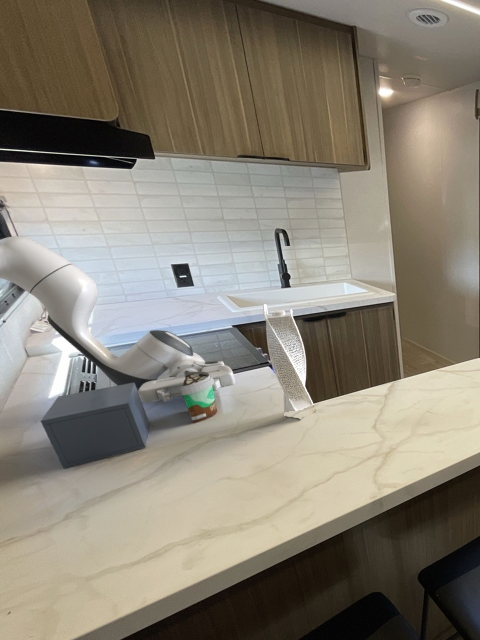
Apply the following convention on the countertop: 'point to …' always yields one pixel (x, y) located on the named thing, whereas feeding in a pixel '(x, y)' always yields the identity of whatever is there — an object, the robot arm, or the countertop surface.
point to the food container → (199, 395)
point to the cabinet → (96, 424)
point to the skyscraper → (287, 358)
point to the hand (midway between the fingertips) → (190, 393)
